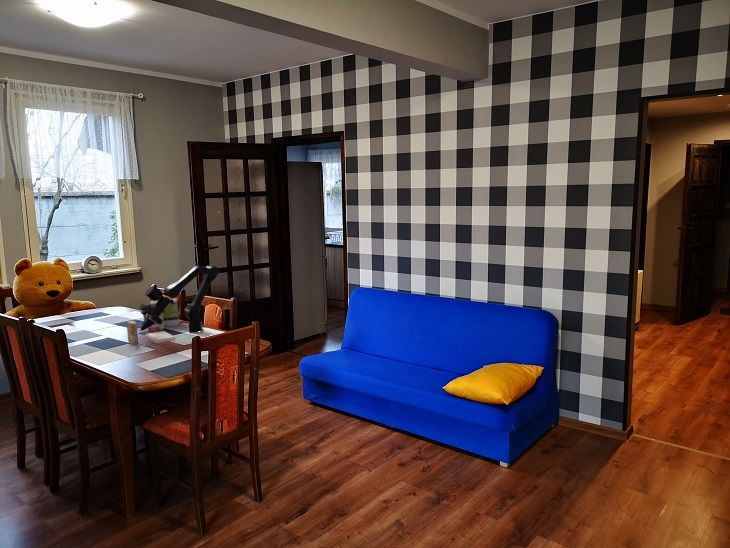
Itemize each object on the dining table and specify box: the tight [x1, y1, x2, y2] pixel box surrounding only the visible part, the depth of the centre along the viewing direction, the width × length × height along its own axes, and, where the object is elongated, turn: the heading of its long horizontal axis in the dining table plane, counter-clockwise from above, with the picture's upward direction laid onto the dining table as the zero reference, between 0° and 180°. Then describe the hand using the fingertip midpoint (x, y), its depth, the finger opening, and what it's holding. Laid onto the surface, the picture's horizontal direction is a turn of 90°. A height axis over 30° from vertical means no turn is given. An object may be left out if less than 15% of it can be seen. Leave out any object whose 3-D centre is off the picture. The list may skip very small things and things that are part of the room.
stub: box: [126, 320, 139, 345], centre depth 288 cm, size 3×7×11 cm, turn 39°
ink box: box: [147, 313, 165, 333], centre depth 314 cm, size 9×5×12 cm, turn 168°
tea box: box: [149, 297, 180, 327], centre depth 325 cm, size 15×10×15 cm, turn 108°
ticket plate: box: [145, 330, 176, 344], centre depth 297 cm, size 10×17×2 cm, turn 39°
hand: (141, 330), depth 290 cm, fingers closed
